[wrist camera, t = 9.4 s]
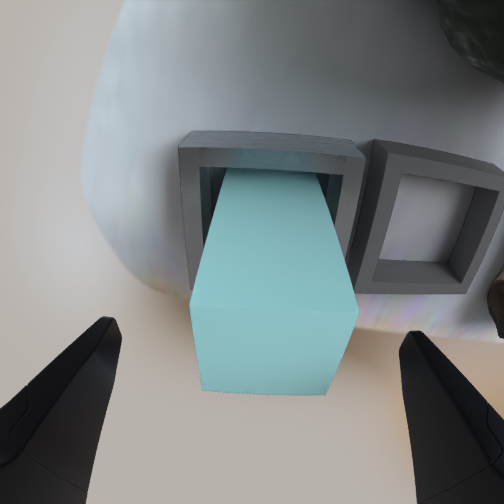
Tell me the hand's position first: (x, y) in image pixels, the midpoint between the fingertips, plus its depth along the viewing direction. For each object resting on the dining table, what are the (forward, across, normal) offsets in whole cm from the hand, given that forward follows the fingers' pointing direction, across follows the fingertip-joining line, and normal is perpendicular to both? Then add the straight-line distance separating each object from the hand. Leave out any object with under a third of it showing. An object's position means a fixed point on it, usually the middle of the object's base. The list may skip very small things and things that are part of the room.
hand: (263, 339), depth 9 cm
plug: (+8, 0, 0) cm, 8 cm away
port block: (+8, 0, 0) cm, 8 cm away
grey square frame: (+8, -9, 0) cm, 12 cm away
